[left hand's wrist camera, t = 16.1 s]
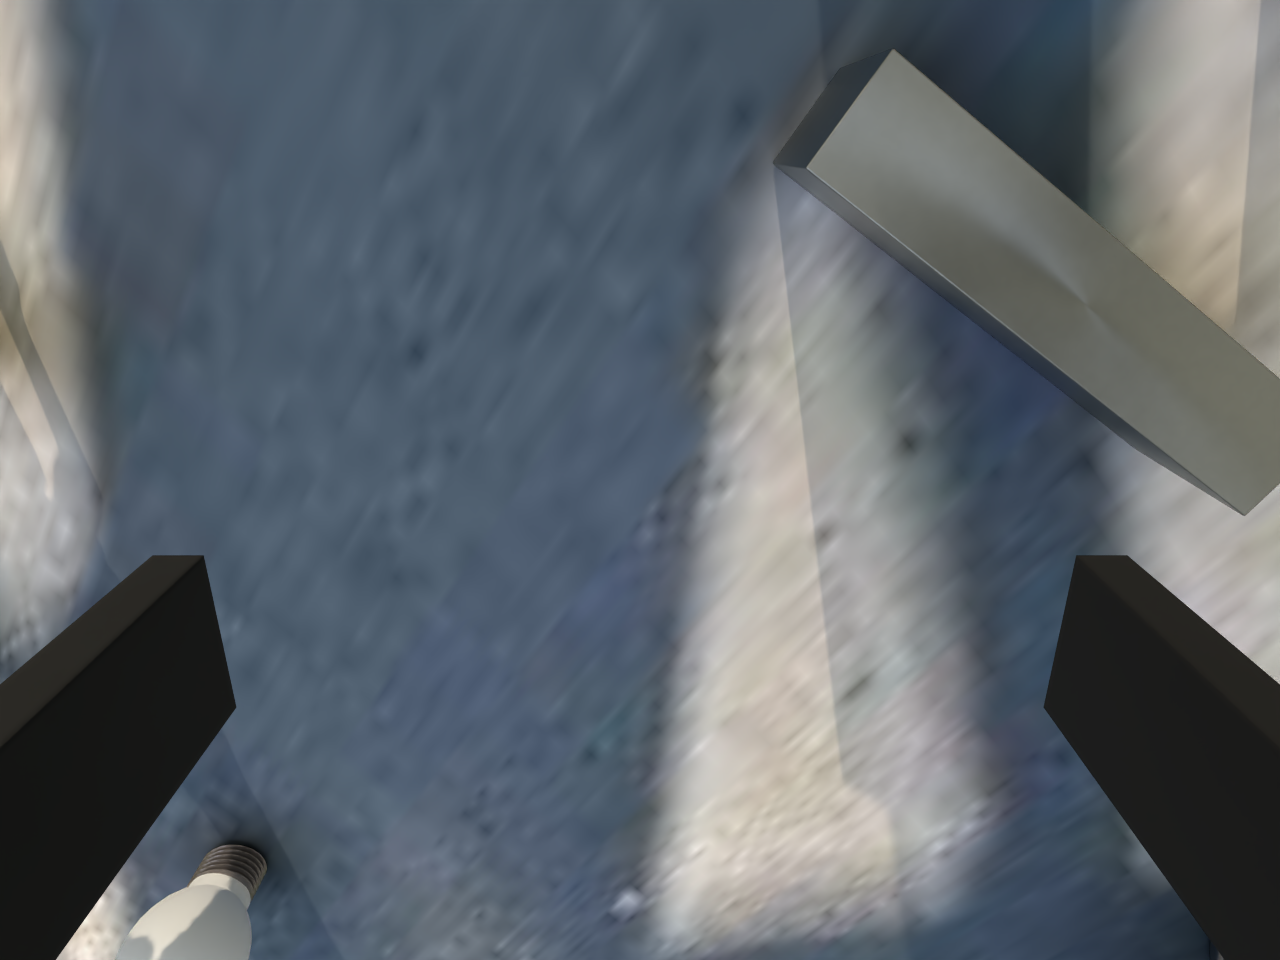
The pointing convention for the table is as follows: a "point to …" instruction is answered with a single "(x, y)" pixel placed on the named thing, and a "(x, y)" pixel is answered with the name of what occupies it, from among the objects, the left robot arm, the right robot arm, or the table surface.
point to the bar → (1038, 275)
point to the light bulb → (202, 912)
